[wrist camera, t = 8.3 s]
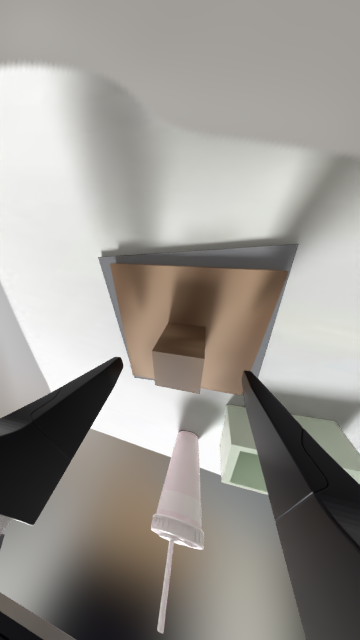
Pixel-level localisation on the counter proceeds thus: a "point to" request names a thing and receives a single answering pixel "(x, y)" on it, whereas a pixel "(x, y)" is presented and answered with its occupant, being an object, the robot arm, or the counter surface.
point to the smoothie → (180, 506)
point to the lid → (195, 322)
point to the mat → (226, 258)
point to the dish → (243, 459)
